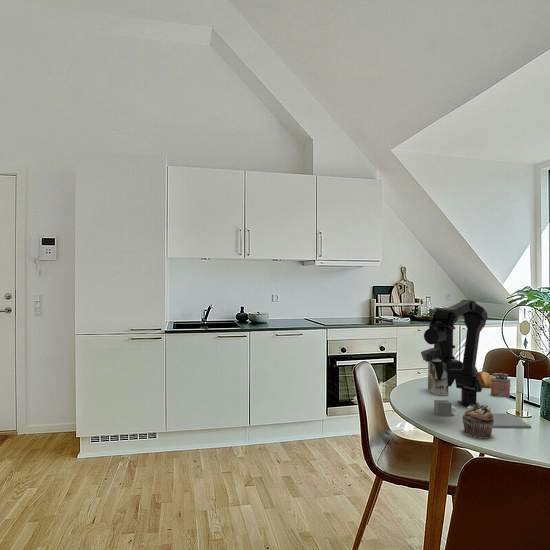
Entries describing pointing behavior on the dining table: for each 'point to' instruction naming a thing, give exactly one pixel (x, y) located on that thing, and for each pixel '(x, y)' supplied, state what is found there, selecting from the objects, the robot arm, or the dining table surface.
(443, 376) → the coffee box
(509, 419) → the coaster
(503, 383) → the lighter
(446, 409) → the plug
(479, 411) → the cupcake
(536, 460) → the dining table surface
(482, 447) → the dining table surface
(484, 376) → the croissant
